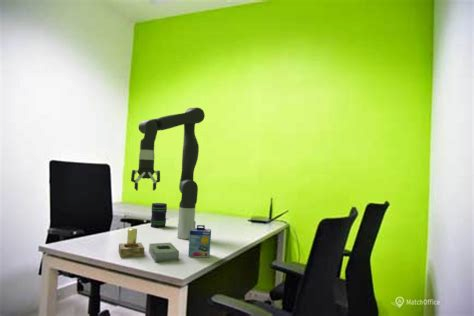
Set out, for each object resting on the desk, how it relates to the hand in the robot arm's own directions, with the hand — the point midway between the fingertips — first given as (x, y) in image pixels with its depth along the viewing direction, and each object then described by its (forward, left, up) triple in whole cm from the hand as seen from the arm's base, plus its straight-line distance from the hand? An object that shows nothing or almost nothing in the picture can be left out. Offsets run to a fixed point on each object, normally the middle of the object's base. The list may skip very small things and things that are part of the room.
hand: (145, 190), depth 161 cm
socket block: (+7, +15, -28) cm, 32 cm away
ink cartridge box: (-22, +26, -28) cm, 44 cm away
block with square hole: (-6, +23, -28) cm, 37 cm away
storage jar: (-17, -45, -28) cm, 55 cm away
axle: (+7, +15, -27) cm, 31 cm away
